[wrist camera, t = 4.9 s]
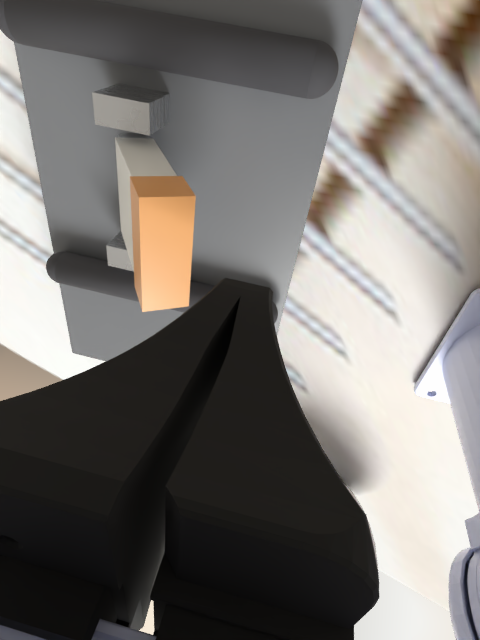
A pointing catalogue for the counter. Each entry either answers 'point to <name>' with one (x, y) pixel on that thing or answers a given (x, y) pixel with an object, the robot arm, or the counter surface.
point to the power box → (177, 137)
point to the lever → (155, 222)
